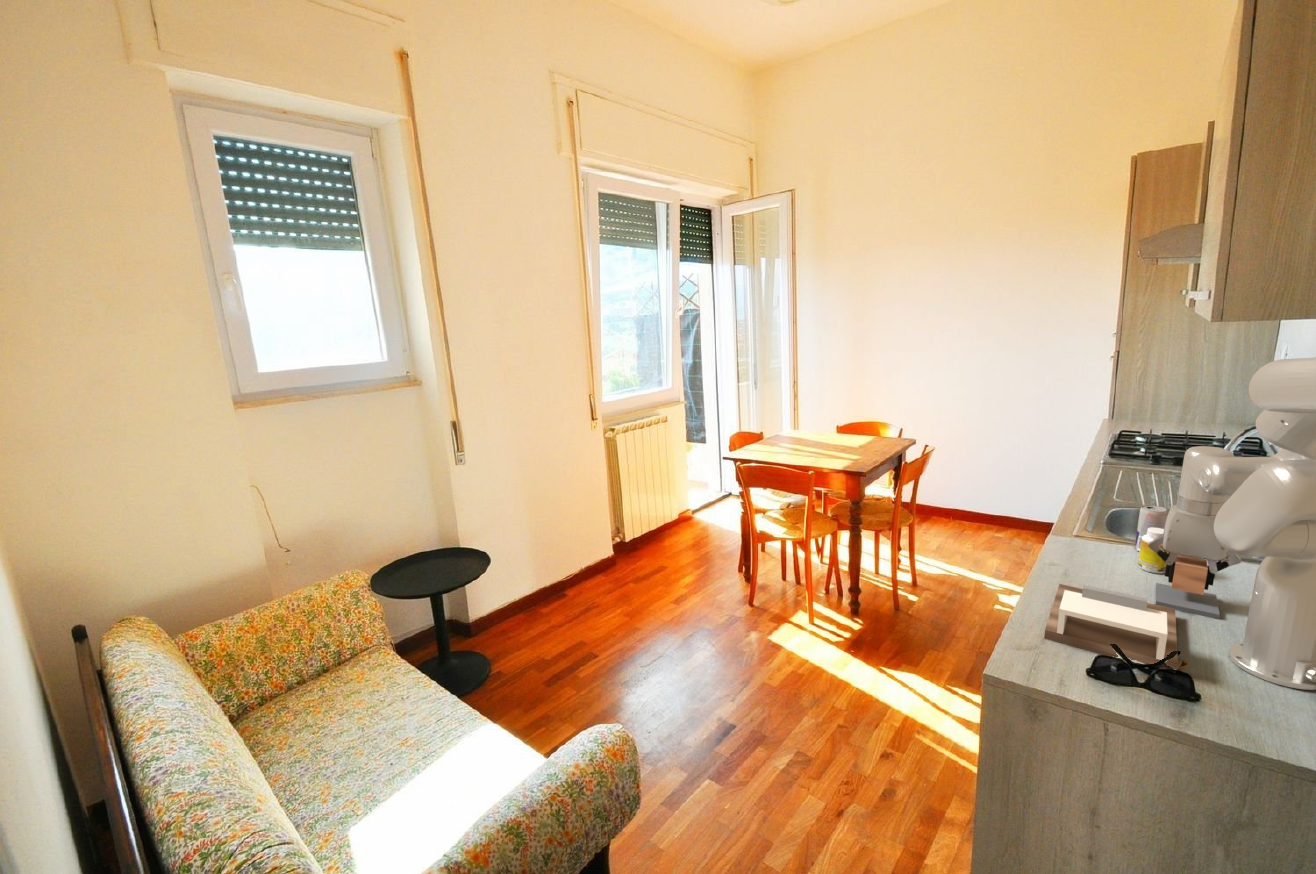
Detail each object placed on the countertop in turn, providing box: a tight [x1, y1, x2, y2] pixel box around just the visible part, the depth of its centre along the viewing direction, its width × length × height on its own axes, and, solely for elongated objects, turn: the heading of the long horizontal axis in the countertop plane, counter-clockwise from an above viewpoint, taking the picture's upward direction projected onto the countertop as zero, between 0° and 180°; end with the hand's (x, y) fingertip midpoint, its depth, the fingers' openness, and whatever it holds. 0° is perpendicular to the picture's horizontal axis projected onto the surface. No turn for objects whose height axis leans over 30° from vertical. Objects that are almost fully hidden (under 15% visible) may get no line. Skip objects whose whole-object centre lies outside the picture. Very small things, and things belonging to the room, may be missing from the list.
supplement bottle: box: [1137, 528, 1168, 574], centre depth 139 cm, size 6×6×10 cm
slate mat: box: [1155, 582, 1221, 620], centre depth 126 cm, size 10×10×1 cm
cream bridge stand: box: [1057, 584, 1167, 660], centre depth 111 cm, size 9×16×7 cm, turn 50°
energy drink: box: [1134, 504, 1168, 553], centre depth 148 cm, size 5×5×12 cm
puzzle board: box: [1043, 583, 1179, 670], centre depth 118 cm, size 23×20×2 cm
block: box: [1171, 555, 1208, 595], centre depth 124 cm, size 5×5×6 cm
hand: (1187, 582), depth 125 cm, fingers closed on block, 5 cm apart
